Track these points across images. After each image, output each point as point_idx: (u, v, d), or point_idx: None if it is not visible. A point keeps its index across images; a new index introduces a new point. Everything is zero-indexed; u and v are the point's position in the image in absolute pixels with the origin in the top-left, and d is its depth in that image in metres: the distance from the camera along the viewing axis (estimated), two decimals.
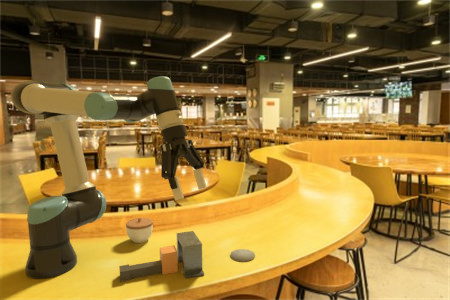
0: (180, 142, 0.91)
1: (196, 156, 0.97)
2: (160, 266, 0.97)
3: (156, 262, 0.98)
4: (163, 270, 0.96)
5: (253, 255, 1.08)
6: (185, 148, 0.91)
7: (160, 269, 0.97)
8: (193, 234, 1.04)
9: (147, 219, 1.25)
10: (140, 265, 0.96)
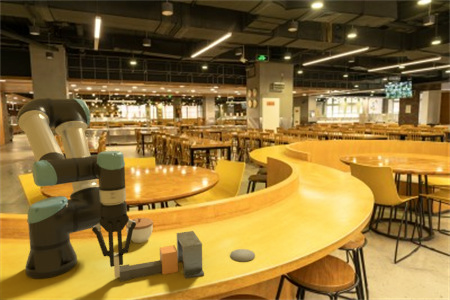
0: (115, 219, 0.90)
1: (126, 240, 0.92)
2: (160, 266, 0.97)
3: (156, 262, 0.98)
4: (163, 270, 0.96)
5: (253, 255, 1.08)
6: (116, 226, 0.90)
7: (160, 269, 0.97)
8: (193, 234, 1.04)
9: (147, 219, 1.25)
10: (140, 265, 0.96)
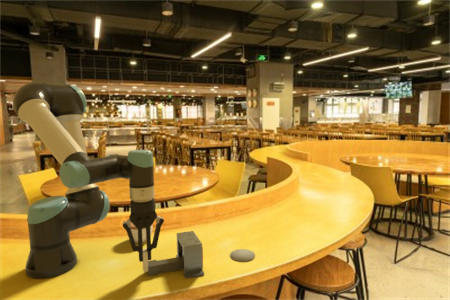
0: (144, 216, 0.93)
1: (155, 235, 0.95)
2: None
3: (182, 257, 1.01)
4: None
5: (253, 255, 1.08)
6: (146, 222, 0.93)
7: None
8: (193, 234, 1.04)
9: None
10: (167, 260, 0.99)
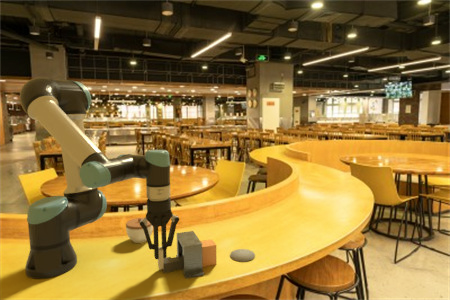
0: (160, 214, 0.95)
1: (170, 234, 0.97)
2: None
3: None
4: (203, 263, 1.01)
5: (253, 255, 1.08)
6: (162, 220, 0.95)
7: None
8: (193, 234, 1.04)
9: None
10: (181, 257, 1.01)
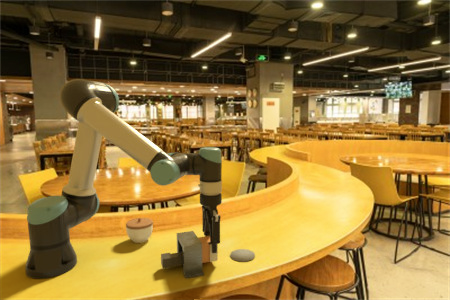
0: (207, 208, 1.02)
1: None
2: None
3: None
4: (202, 259, 1.01)
5: (253, 255, 1.08)
6: None
7: None
8: (193, 234, 1.04)
9: (147, 219, 1.25)
10: (180, 253, 1.01)
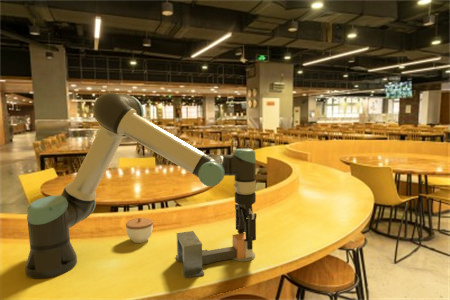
0: (242, 206, 1.06)
1: None
2: (235, 251, 1.06)
3: (230, 248, 1.07)
4: (238, 255, 1.05)
5: (253, 255, 1.08)
6: None
7: (235, 254, 1.06)
8: (193, 234, 1.04)
9: (147, 219, 1.25)
10: (217, 250, 1.05)
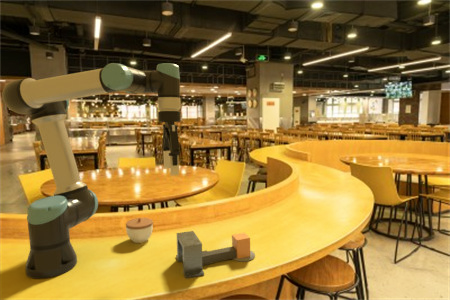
0: (166, 125, 1.02)
1: None
2: (235, 251, 1.06)
3: (230, 248, 1.07)
4: (238, 255, 1.05)
5: (253, 255, 1.08)
6: None
7: (235, 254, 1.06)
8: (193, 234, 1.04)
9: (147, 219, 1.25)
10: (217, 251, 1.05)
